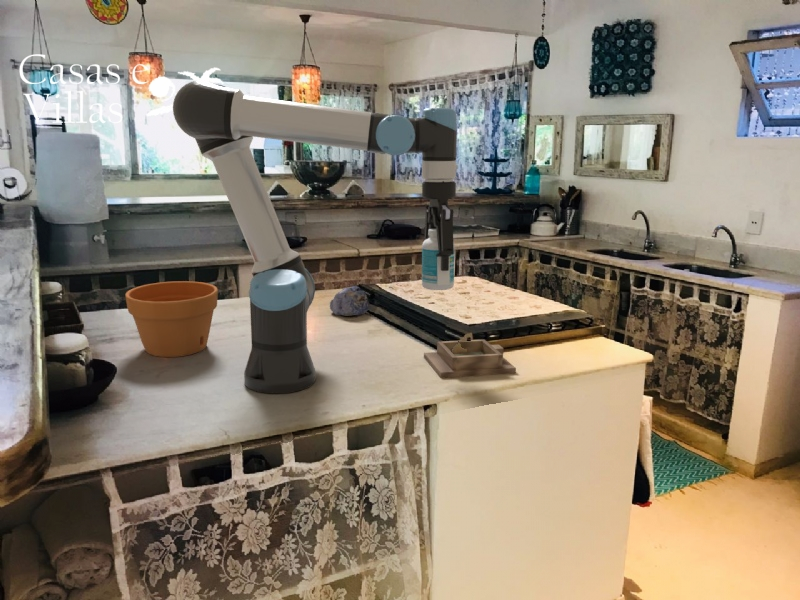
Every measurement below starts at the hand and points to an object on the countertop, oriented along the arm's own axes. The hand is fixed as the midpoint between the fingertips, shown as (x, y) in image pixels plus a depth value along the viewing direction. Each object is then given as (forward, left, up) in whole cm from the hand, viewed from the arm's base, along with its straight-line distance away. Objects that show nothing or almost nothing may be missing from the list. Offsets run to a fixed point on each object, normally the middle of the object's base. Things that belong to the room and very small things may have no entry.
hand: (437, 280), depth 149 cm
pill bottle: (0, 0, -2) cm, 2 cm away
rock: (-14, +48, -20) cm, 54 cm away
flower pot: (-61, +21, -20) cm, 67 cm away
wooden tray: (+7, -3, -20) cm, 21 cm away
